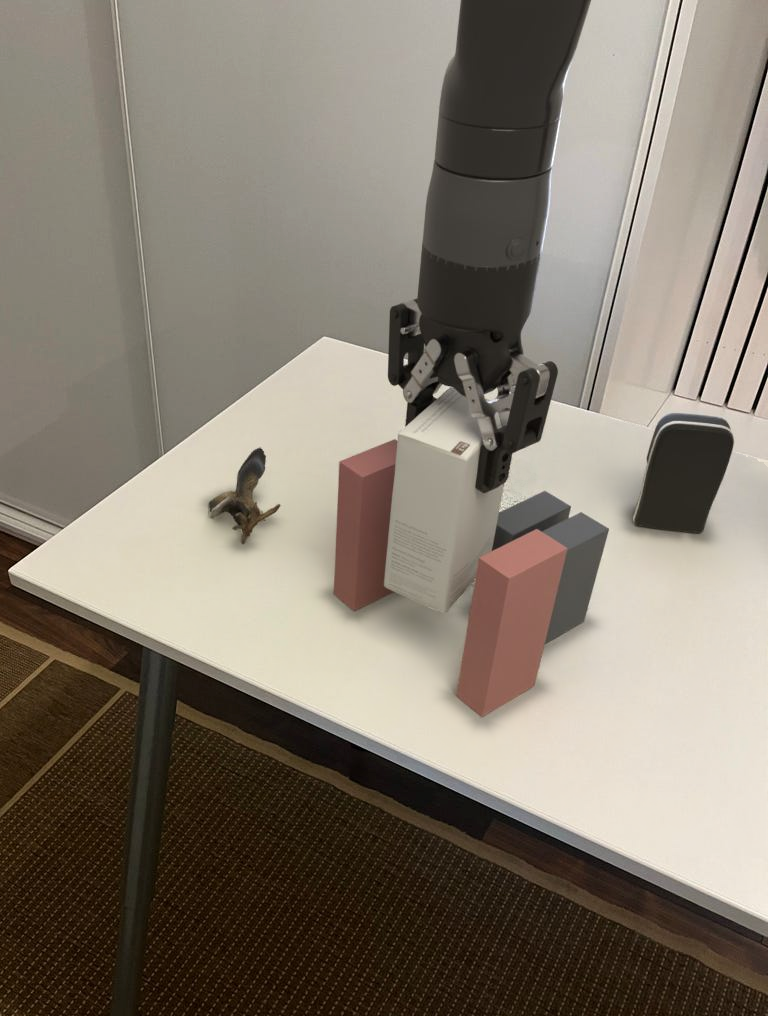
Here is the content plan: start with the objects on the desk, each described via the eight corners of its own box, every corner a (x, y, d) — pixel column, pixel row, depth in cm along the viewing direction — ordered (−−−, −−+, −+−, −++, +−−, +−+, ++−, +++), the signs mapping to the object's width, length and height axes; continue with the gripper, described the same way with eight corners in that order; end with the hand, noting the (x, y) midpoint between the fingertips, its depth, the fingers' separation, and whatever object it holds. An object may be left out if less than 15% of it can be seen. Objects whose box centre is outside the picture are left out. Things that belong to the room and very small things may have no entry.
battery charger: (700, 514, 98) (735, 412, 90) (704, 536, 95) (741, 432, 87) (629, 506, 99) (657, 404, 91) (631, 527, 96) (661, 424, 88)
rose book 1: (383, 570, 91) (395, 438, 81) (404, 586, 89) (418, 453, 80) (333, 594, 88) (338, 461, 79) (354, 611, 86) (362, 477, 77)
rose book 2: (508, 665, 81) (537, 528, 72) (534, 686, 79) (567, 548, 70) (455, 695, 79) (478, 557, 69) (481, 717, 77) (509, 578, 67)
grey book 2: (558, 604, 87) (581, 511, 81) (584, 621, 85) (609, 528, 79) (503, 634, 84) (521, 541, 77) (528, 653, 82) (550, 559, 76)
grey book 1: (525, 581, 90) (544, 490, 83) (550, 598, 88) (571, 506, 81) (470, 610, 87) (486, 517, 80) (495, 628, 85) (512, 535, 78)
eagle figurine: (301, 528, 94) (282, 465, 99) (263, 487, 88) (244, 423, 94) (236, 566, 96) (220, 502, 101) (195, 528, 91) (181, 463, 96)
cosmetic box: (430, 541, 83) (449, 381, 74) (494, 566, 81) (522, 404, 71) (379, 591, 78) (392, 427, 68) (446, 619, 76) (469, 453, 66)
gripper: (612, 260, 59) (560, 492, 70) (447, 197, 67) (425, 412, 78) (525, 290, 55) (485, 528, 66) (364, 219, 64) (352, 441, 75)
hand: (452, 465), depth 72 cm, fingers closed on cosmetic box, 7 cm apart
